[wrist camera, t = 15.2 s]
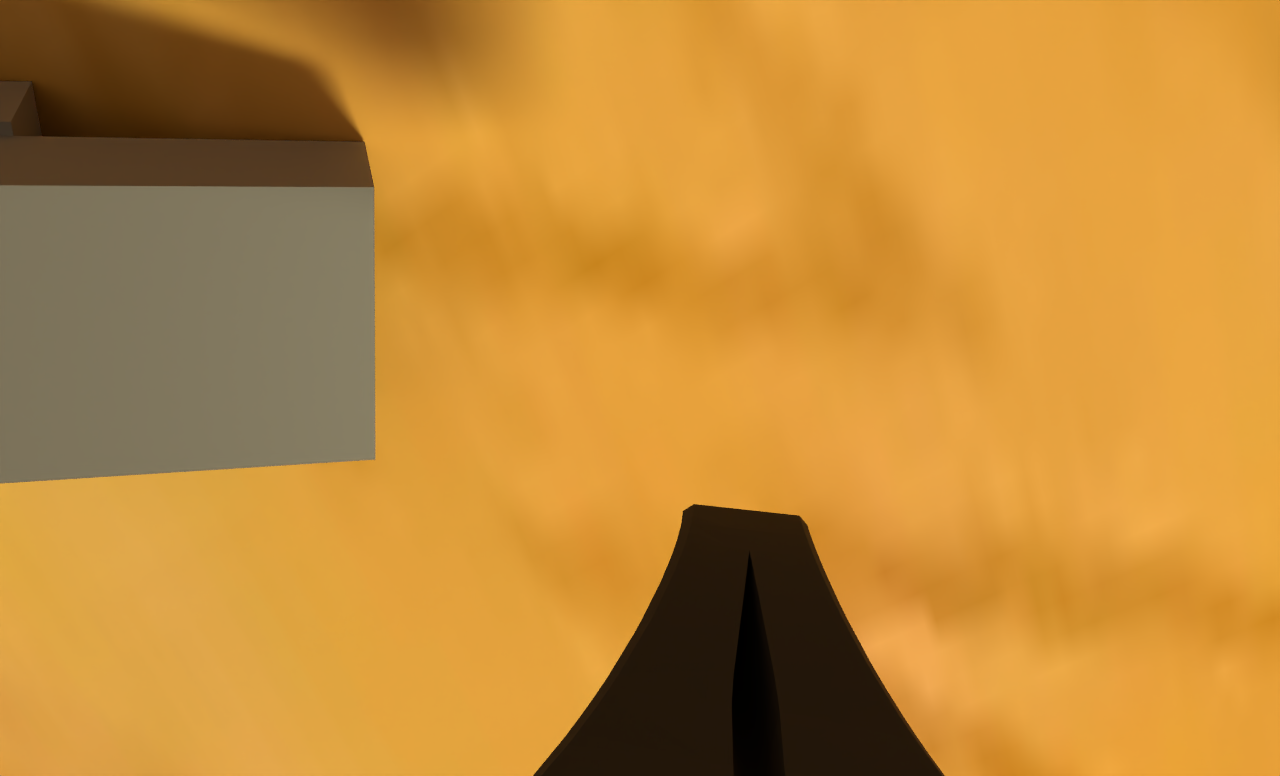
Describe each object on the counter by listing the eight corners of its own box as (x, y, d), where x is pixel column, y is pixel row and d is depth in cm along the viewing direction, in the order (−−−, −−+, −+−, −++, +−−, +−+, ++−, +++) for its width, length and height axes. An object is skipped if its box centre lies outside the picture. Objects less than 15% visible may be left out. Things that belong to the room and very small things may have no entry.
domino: (373, 187, 16) (-397, 183, 14) (375, 459, 19) (-275, 501, 16) (364, 141, 18) (-335, 130, 15) (366, 399, 20) (-231, 429, 17)
